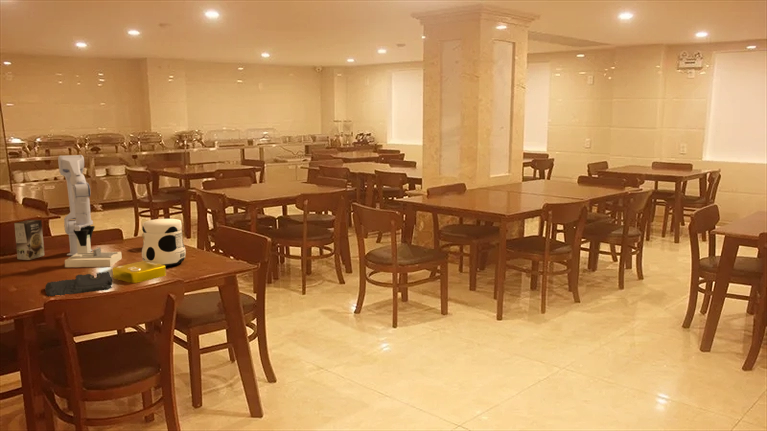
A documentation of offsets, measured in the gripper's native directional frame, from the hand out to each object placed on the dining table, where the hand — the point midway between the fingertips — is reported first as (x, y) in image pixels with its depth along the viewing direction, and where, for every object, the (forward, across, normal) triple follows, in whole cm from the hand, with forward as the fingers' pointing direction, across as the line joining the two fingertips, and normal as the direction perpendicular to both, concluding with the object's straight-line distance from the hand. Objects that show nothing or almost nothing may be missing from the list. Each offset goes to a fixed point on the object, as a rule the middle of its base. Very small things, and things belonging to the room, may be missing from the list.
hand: (85, 244), depth 261 cm
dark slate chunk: (+9, +38, +12) cm, 41 cm away
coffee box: (+8, -12, -28) cm, 32 cm away
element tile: (+9, +24, +29) cm, 38 cm away
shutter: (+5, 0, +7) cm, 9 cm away
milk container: (+8, +4, +33) cm, 34 cm away
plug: (+3, 0, -1) cm, 3 cm away
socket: (+8, 0, +2) cm, 8 cm away
